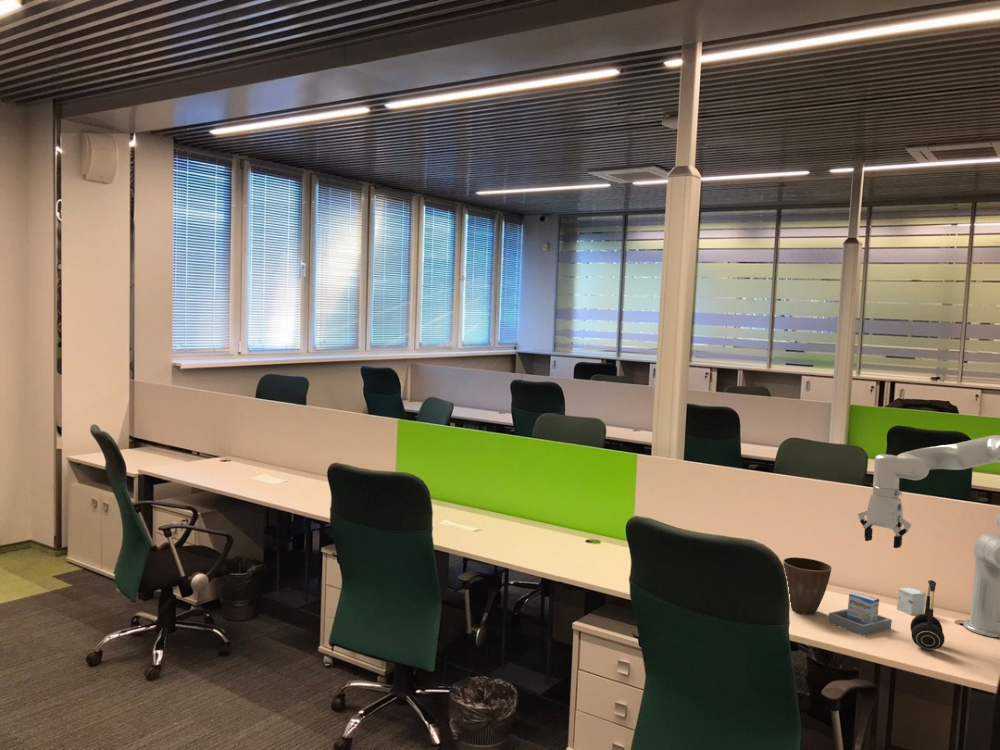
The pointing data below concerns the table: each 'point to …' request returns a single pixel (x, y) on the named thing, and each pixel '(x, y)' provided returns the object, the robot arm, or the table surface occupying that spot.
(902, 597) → the skincare box
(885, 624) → the desk tray
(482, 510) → the table surface
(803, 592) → the plant pot
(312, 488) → the table surface
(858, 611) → the medicine box
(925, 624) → the headphones
